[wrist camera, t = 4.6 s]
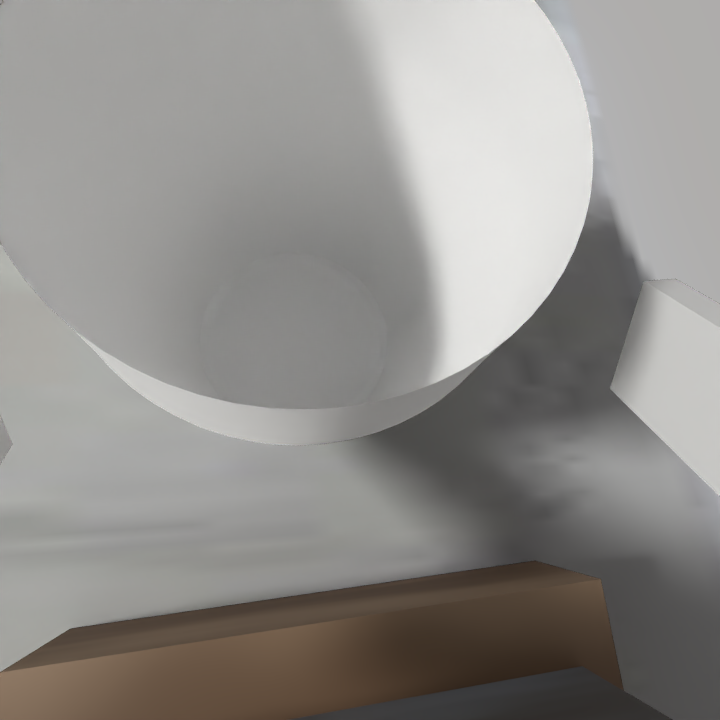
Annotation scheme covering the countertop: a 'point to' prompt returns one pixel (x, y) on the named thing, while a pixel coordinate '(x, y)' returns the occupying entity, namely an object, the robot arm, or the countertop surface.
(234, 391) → the cup
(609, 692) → the stepped display pedestal
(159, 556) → the countertop surface
